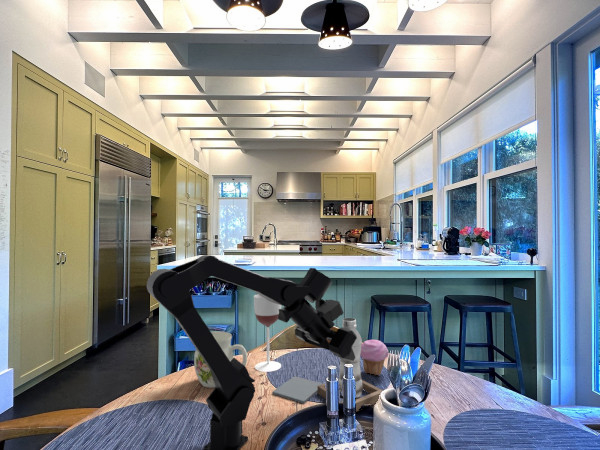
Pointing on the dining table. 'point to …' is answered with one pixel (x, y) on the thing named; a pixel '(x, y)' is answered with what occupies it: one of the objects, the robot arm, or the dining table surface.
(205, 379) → the pitcher
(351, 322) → the plastic bottle
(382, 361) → the cupcake
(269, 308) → the wineglass
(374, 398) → the caddy frame
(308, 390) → the slate mat
